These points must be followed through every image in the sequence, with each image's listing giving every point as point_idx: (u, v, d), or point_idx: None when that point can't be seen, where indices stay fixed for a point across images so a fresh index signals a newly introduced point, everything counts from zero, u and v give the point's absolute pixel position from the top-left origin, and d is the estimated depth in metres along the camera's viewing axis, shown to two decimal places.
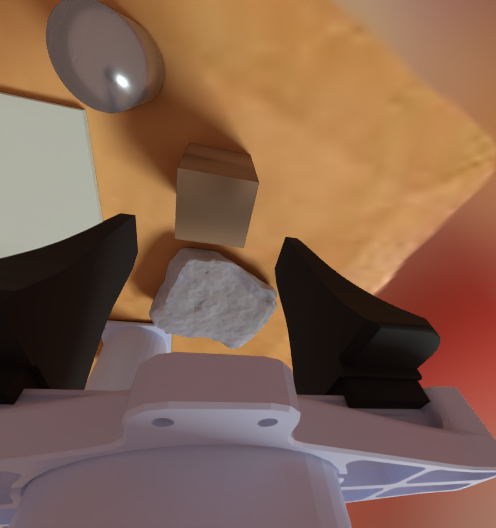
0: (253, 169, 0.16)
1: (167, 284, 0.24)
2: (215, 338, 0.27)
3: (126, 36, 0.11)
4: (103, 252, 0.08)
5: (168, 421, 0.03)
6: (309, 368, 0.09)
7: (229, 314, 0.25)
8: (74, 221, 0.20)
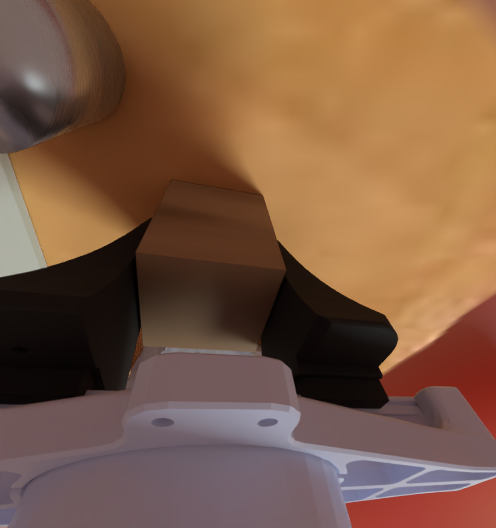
0: (271, 231, 0.10)
1: None
2: None
3: None
4: None
5: (168, 421, 0.03)
6: None
7: None
8: None
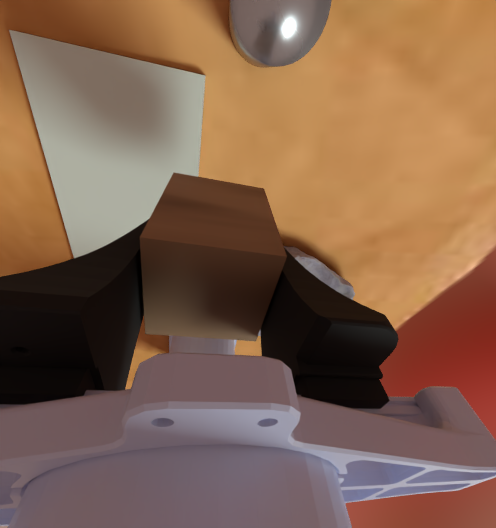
0: (272, 221, 0.10)
1: None
2: None
3: None
4: None
5: (168, 421, 0.03)
6: None
7: None
8: None
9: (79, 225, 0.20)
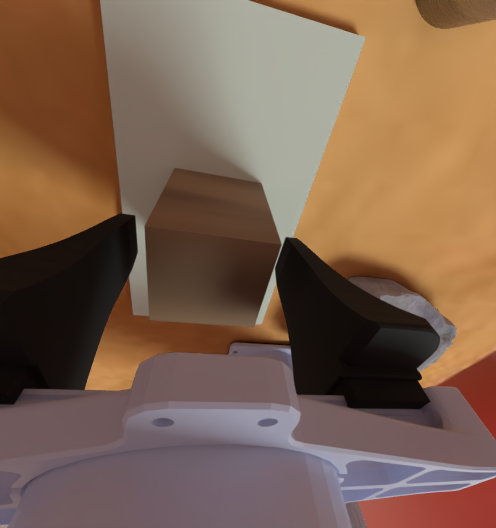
0: (269, 213, 0.10)
1: None
2: None
3: None
4: (103, 252, 0.08)
5: (168, 421, 0.03)
6: (309, 367, 0.09)
7: None
8: None
9: None
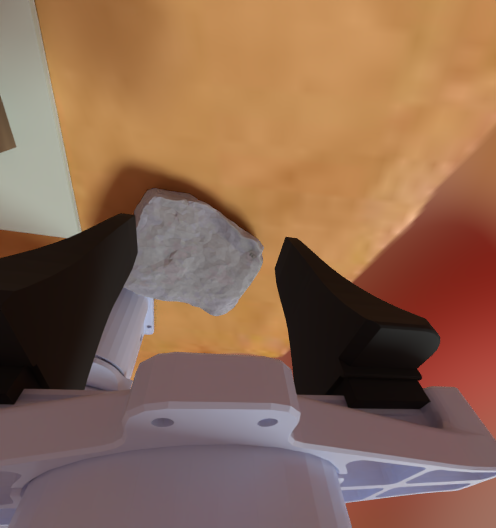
0: None
1: None
2: (194, 303, 0.24)
3: None
4: (103, 252, 0.08)
5: (168, 421, 0.03)
6: (309, 367, 0.09)
7: (207, 270, 0.21)
8: (16, 103, 0.15)
9: None
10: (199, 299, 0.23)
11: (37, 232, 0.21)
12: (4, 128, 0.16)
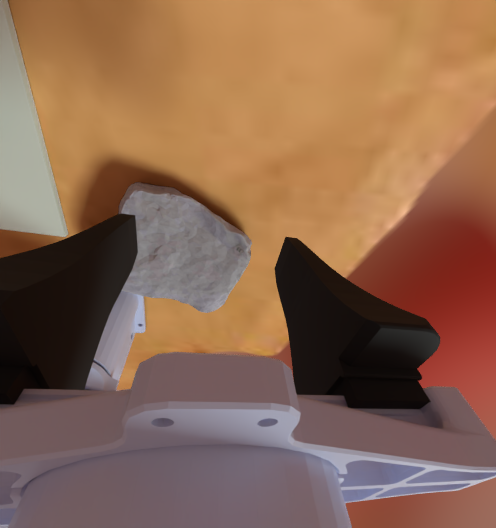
0: None
1: None
2: (183, 299, 0.24)
3: None
4: (103, 252, 0.08)
5: (168, 421, 0.03)
6: (309, 367, 0.09)
7: (194, 266, 0.21)
8: None
9: None
10: (187, 295, 0.23)
11: (22, 229, 0.20)
12: None
